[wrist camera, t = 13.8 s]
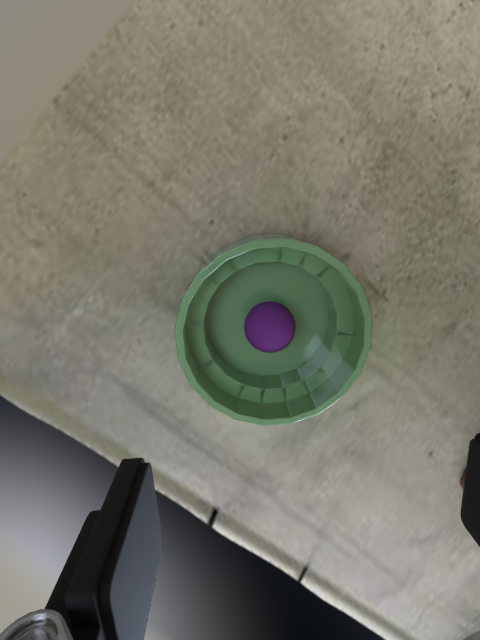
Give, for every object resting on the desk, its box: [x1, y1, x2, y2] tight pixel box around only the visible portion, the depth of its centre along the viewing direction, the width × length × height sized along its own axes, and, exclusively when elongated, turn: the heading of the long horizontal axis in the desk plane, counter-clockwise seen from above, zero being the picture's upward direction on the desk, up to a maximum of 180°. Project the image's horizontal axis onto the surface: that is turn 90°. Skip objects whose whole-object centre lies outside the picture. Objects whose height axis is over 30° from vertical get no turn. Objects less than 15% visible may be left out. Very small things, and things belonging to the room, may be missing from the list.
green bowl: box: [175, 233, 372, 425], centre depth 32 cm, size 15×15×6 cm
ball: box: [244, 301, 296, 353], centre depth 32 cm, size 4×4×4 cm
